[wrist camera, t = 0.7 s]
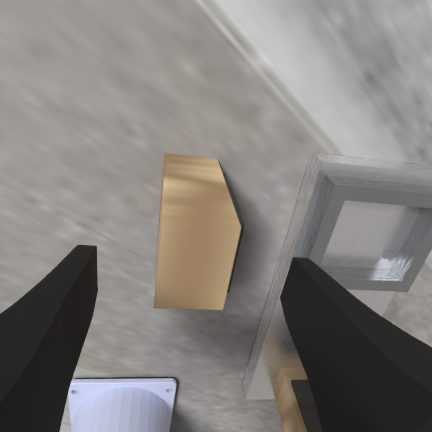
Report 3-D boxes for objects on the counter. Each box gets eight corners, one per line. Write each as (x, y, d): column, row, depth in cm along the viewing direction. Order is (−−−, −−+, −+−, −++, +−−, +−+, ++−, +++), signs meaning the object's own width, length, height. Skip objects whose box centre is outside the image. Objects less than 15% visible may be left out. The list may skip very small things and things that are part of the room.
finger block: (158, 219, 19) (154, 308, 13) (164, 153, 18) (161, 221, 11) (211, 223, 20) (230, 310, 14) (222, 159, 18) (249, 228, 12)
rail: (331, 381, 29) (344, 412, 27) (242, 382, 28) (248, 415, 26) (438, 166, 20) (473, 185, 18) (311, 151, 18) (332, 170, 16)
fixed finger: (320, 390, 27) (355, 476, 22) (273, 390, 26) (298, 480, 21) (332, 364, 26) (373, 451, 21) (282, 365, 25) (312, 454, 20)
